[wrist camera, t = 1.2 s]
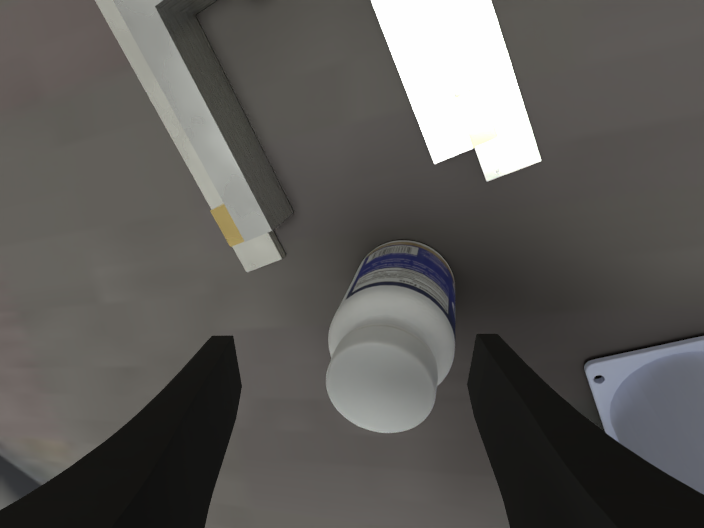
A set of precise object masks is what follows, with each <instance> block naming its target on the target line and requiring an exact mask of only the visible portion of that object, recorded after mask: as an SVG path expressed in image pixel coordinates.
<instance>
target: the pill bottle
mask: <svg viewBox="0 0 704 528" xmlns="http://www.w3.org/2000/svg"><path fill="white" fill-rule="evenodd" d="M328 344H329V351H330V355H331V361H330V364H329V366H328V369H327V373H326V388H327V392H328V395H329V397H330V400H331V401H332V403H333V405H334V406H335V408H336V409H337V410H338V411H339V412H340V413H341V414H342V415H343V416H344V417H345V418H346V419H348V420H349V421H351V422H352V423H354V424H355V425H357V426H359V427H362V428H364V429H367V430H371V431H375V432H380V433H397V432H402V431H406V430H409V429H411V428H414V427H415V426H417V425H419V424H420V423H421V422H423V421H424V420H425V419H426V418H427V416H428V415H429V414H430V412H431V410H432V408H433V406H434V403H435V398H436V390H437V386H438V385H439V384H440V383H441V382H442V381H443V380H444V378H445V377H446V376H447V374H448V372H449V370H450V368H451V366H452V363H453V359H454V353H455V281H454V276H453V273H452V271H451V269H450V267H449V265H448V263H447V262H446V261H445V259H444V258H443V257H442V256H441V255H440V254H439V253H438V252H436V251H435V250H434V249H432V248H430V247H429V246H427V245H425V244H422V243H419V242H415V241H409V240H397V241H391V242H388V243H385V244H382V245H380V246H378V247H377V248H375V249H374V250H372V251H371V252H370V253H369V254H368V255H367V256H366V257H365V258H364V260H363V261H362V262H361V264H360V266H359V268H358V270H357V272H356V274H355V276H354V278H353V280H352V282H351V284H350V286H349V288H348V290H347V292H346V294H345V296H344V298H343V300H342V302H341V304H340V306H339V308H338V310H337V312H336V313H335V315H334V318H333V320H332V322H331V325H330V329H329V335H328Z"/></svg>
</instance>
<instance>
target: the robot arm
mask: <svg viewBox="0 0 704 528" xmlns="http://www.w3.org/2000/svg"><path fill="white" fill-rule="evenodd" d="M584 370H585V373H586V376H587V379H588V382H589V385H590V388H591V391H592V394H593V397H594V400H595V403H596V406H597V409H598V412H599V415H600V418H601V421H602V424H603V427H604V430H605V432H604V431H603V430H601V429H600V428H599V427H597V426H596V425H595V424H593V423H592V422H591V421H589V420H588V419H587V418H586V417H584V416H583V415H582V414H581V413H579V412H578V411H577V410H576V409H575V408H573V407H572V406H571V405H570V404H569V403H568V402H566V401H565V400H564V399H563V398H562V397H561V396H559V395H558V394H557V393H556V392H555V391H554V390H553V389H552V388H551V387H550V386H549V385H547V384H546V383H545V382H544V381H543V380H542V379H541V378H540V377H539V376H538V375H537V374H536V373H535V372H534V371H533V370H532V369H531V368H530V367H529V366H528V365H527V364H526V363H525V362H524V361H523V360H522V359H521V358H520V357H519V356H518V355H517V354H516V353H515V352H514V351H513V350H512V349H511V348H510V347H509V346H508V345H507V344H506V342H505V341H504V340H503V339H502V338H501V337H500V336H499V335H498V334H477V335H476V340H475V346H474V351H473V356H472V362H471V367H470V373H469V378H468V383H467V385H468V390H469V395H470V400H471V405H472V409H473V413H474V417H475V420H476V423H477V426H478V429H479V432H480V435H481V438H482V440H483V443H484V446H485V449H486V452H487V455H488V457H489V460H490V463H491V466H492V469H493V471H494V474H495V477H496V480H497V483H498V486H499V488H500V492H501V495H502V498H503V501H504V505H505V509H506V513H507V517H508V521H509V525H510V528H704V336H700V337H695V338H691V339H686V340H681V341H677V342H672V343H668V344H663V345H658V346H654V347H649V348H644V349H640V350H635V351H630V352H626V353H621V354H617V355H612V356H607V357H603V358H598V359H593V360H590V361H588V362H587V363H586V364H585V366H584ZM597 375H601V376H602V377H601V378H599V379H595V378H594V377H595V376H597ZM241 388H242V385H241V379H240V373H239V367H238V362H237V356H236V350H235V344H234V339H233V336H212V337H211V338H210V339H209V340H208V341H207V342H206V343H205V344H204V345H203V346H202V347H201V349H200V350H199V351H198V352H197V353H196V354H195V355H194V357H193V358H192V359H191V360H190V361H189V362H188V363H187V364H186V365H185V367H184V368H183V369H182V370H181V371H180V372H179V373H178V374H177V375H176V376H175V377H174V378H173V379H172V380H171V381H170V383H169V384H168V385H167V386H166V387H165V388H164V389H163V390H162V391H161V392H160V393H159V394H158V395H157V396H156V397H155V398H154V399H153V400H152V401H150V402H149V403H148V404H147V405H146V406H145V407H144V408H143V409H142V410H141V411H140V412H139V413H138V414H137V415H136V416H135V417H133V418H132V419H131V420H130V421H129V422H128V423H127V424H125V425H124V426H123V427H122V428H121V429H120V430H118V431H117V432H116V433H115V434H113V435H112V436H111V437H110V438H109V439H107V440H106V441H105V442H103V443H102V444H101V445H99V446H98V447H97V448H95V449H94V450H93V451H91V452H90V453H88V454H87V455H86V456H84V457H83V458H82V459H80V460H79V461H77V462H76V463H75V464H73V465H72V466H71V467H69V468H68V469H66V470H65V471H63V472H62V473H60V474H59V475H57V476H56V477H54V478H53V479H51V480H50V481H48V482H47V483H45V484H43V485H42V486H40V487H39V488H37V489H35V490H34V491H32V492H31V493H29V494H27V495H26V496H24V497H22V498H21V499H19V500H18V501H16V502H14V503H12V504H10V505H9V506H7V507H5V508H3V509H2V510H0V528H205V523H206V518H207V514H208V509H209V505H210V501H211V498H212V494H213V490H214V487H215V484H216V481H217V478H218V474H219V471H220V468H221V465H222V462H223V459H224V455H225V452H226V449H227V446H228V443H229V439H230V436H231V433H232V430H233V426H234V423H235V420H236V415H237V410H238V405H239V399H240V393H241Z"/></svg>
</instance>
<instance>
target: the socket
mask: <svg viewBox="0 0 704 528" xmlns="http://www.w3.org/2000/svg"><path fill="white" fill-rule="evenodd" d="M95 1H96V3H97V5H98V7H99V8H100V10H101V12H102V14H103V16H104V17H105V19H106V21H107V23H108V25H109V26H110V28H111V30H112V32H113V34H114V35H115V37H116V39H117V41H118V43H119V44H120V46H121V48H122V50H123V52H124V53H125V55H126V57H127V59H128V60H129V62H130V64H131V66H132V68H133V69H134V71H135V73H136V75H137V77H138V78H139V80H140V82H141V84H142V86H143V87H144V89H145V91H146V93H147V95H148V96H149V98H150V100H151V102H152V104H153V105H154V107H155V109H156V111H157V113H158V114H159V116H160V118H161V120H162V121H163V123H164V125H165V127H166V129H167V130H168V132H169V134H170V136H171V138H172V139H173V141H174V143H175V145H176V147H177V148H178V150H179V152H180V154H181V156H182V157H183V159H184V161H185V163H186V165H187V166H188V168H189V170H190V172H191V174H192V175H193V177H194V179H195V181H196V182H197V184H198V186H199V188H200V190H201V191H202V193H203V195H204V197H205V199H206V200H207V202H208V204H209V206H210V208H211V209H212V210H210V211H211V213H212V215H213V217H214V218H215V220H216V222H217V224H218V226H219V227H220V229H221V231H222V233H223V235H224V236H225V238H226V240H227V242H228V244H229V245H230V247H233V249H234V251H235V252H236V254H237V256H238V258H239V260H240V261H241V263H242V265H243V267H244V269H245V270H246V272H249V271H252V270H255V269H257V268H260V267H263V266H265V265H268V264H270V263H273V262H276V261H278V260H281V259H283V258H284V257H285V255H286V254H285V252H284V250H283V248H282V247H281V245H280V243H279V241H278V239H277V237H276V235H275V233H274V231H273V230H274V229H275V228H276V227H277V226H278V225H280V224H281V223H282V222H283V221H284V220H286V219H287V218H288V217H289V216H290V215H291V214H293V213H294V212H293V210H292V208H291V206H290V204H289V202H288V200H287V198H286V196H285V194H284V192H283V190H282V188H281V186H280V184H279V182H278V180H277V178H276V176H275V174H274V172H273V170H272V168H271V166H270V164H269V162H268V160H267V158H266V156H265V154H264V152H263V150H262V148H261V146H260V144H259V142H258V140H257V138H256V136H255V134H254V132H253V130H252V128H251V126H250V124H249V122H248V120H247V118H246V116H245V114H244V112H243V110H242V108H241V106H240V104H239V102H238V100H237V98H236V96H235V94H234V92H233V90H232V88H231V86H230V84H229V82H228V80H227V78H226V76H225V74H224V72H223V70H222V68H221V66H220V64H219V62H218V60H217V58H216V56H215V54H214V52H213V50H212V48H211V46H210V44H209V42H208V40H207V38H206V36H205V34H204V32H203V30H202V28H201V26H200V24H199V22H198V20H197V18H196V16H195V15H196V14H197V13H199V12H200V11H202V10H203V9H205V8H206V7H208V6H209V5H211V4H212V3H214V2H215V1H217V0H95ZM371 2H372V5H373V7H374V10H375V12H376V15H377V18H378V20H379V23H380V25H381V28H382V30H383V33H384V36H385V38H386V41H387V43H388V46H389V48H390V51H391V54H392V56H393V59H394V61H395V64H396V66H397V69H398V72H399V74H400V77H401V79H402V82H403V84H404V87H405V90H406V92H407V95H408V97H409V100H410V102H411V105H412V108H413V110H414V113H415V115H416V118H417V120H418V123H419V126H420V128H421V131H422V133H423V136H424V139H425V141H426V144H427V146H428V149H429V151H430V154H431V157H432V159H433V162H434V164H436V163H439V162H441V161H444V160H446V159H449V158H451V157H454V156H456V155H458V154H461V153H463V152H466V151H468V150H471V149H473V147H475V150H476V153H477V156H478V159H479V161H480V164H481V167H482V170H483V173H484V175H485V178H486V181H490V180H493V179H495V178H498V177H500V176H503V175H506V174H508V173H511V172H514V171H516V170H519V169H522V168H524V167H527V166H530V165H532V164H535V163H537V162H540V161H541V157H540V154H539V151H538V148H537V145H536V142H535V138H534V135H533V132H532V129H531V126H530V122H529V119H528V116H527V113H526V110H525V107H524V103H523V100H522V97H521V94H520V91H519V88H518V84H517V81H516V78H515V75H514V72H513V68H512V65H511V62H510V59H509V56H508V53H507V49H506V46H505V43H504V40H503V37H502V34H501V30H500V27H499V24H498V21H497V18H496V14H495V11H494V8H493V5H492V2H491V0H371Z"/></svg>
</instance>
